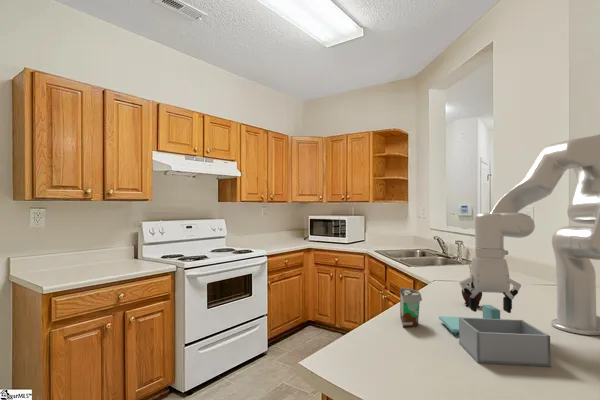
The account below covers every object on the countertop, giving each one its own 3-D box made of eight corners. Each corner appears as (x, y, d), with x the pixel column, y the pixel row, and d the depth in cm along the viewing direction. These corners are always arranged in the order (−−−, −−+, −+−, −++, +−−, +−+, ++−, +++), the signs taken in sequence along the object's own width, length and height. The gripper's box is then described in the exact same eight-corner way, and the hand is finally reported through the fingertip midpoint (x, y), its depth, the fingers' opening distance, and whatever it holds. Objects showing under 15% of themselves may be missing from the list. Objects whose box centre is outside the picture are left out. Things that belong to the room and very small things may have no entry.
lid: (493, 324, 109) (493, 302, 109) (513, 339, 96) (513, 313, 96) (439, 322, 110) (438, 300, 111) (452, 336, 98) (452, 311, 98)
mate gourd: (473, 309, 127) (472, 268, 128) (455, 303, 134) (455, 265, 135) (487, 307, 130) (486, 267, 131) (469, 302, 137) (469, 264, 138)
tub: (522, 346, 91) (521, 320, 91) (550, 366, 79) (550, 336, 79) (459, 343, 92) (459, 317, 93) (477, 362, 80) (477, 332, 81)
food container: (424, 330, 102) (424, 296, 103) (403, 329, 104) (403, 295, 104) (419, 318, 114) (419, 288, 115) (399, 317, 116) (400, 287, 116)
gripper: (513, 253, 107) (514, 308, 106) (455, 252, 108) (455, 306, 108) (526, 256, 99) (527, 316, 98) (464, 254, 101) (464, 313, 100)
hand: (490, 311), depth 103 cm, fingers open, 9 cm apart
